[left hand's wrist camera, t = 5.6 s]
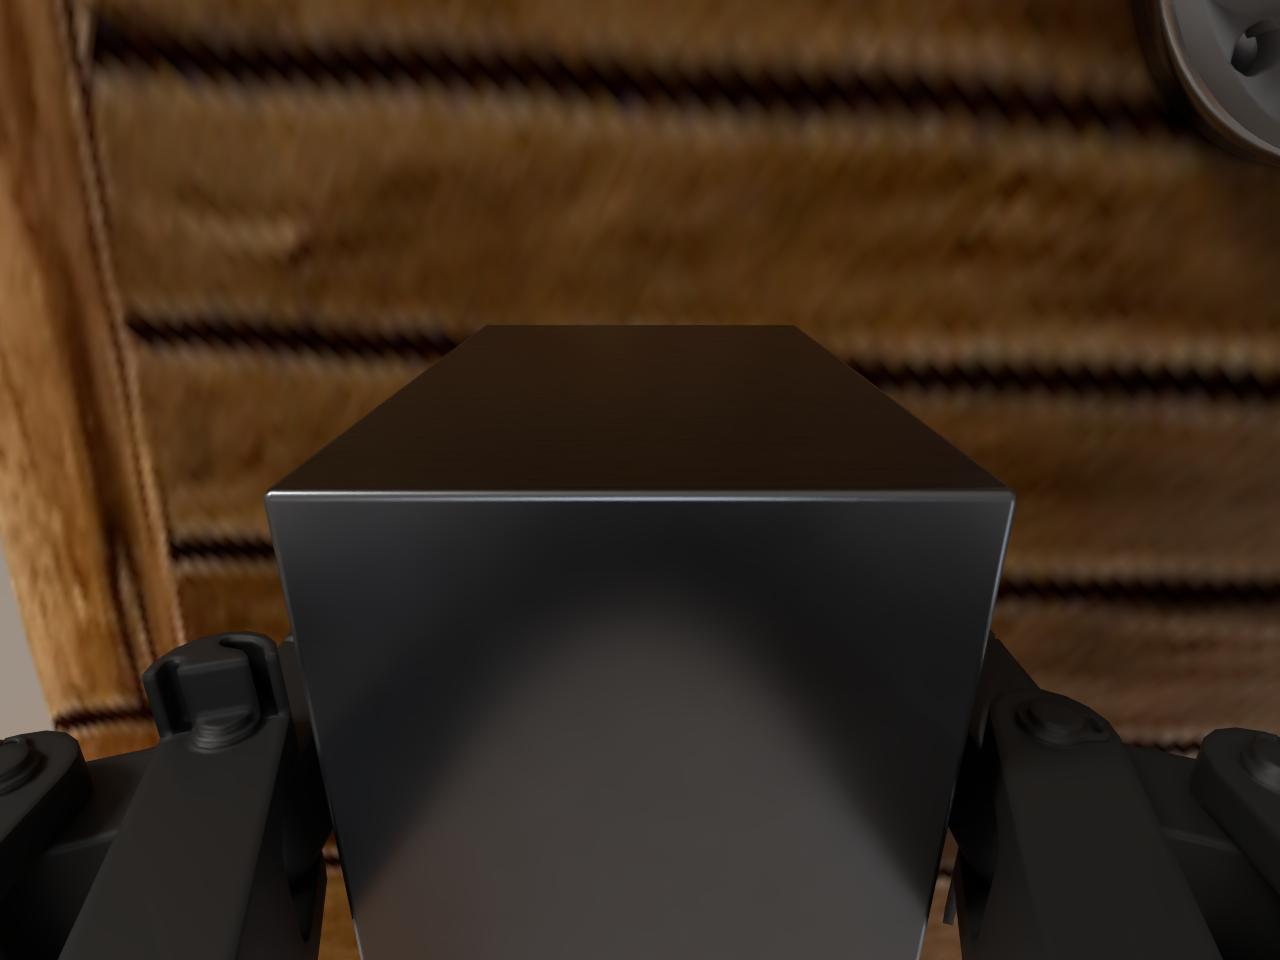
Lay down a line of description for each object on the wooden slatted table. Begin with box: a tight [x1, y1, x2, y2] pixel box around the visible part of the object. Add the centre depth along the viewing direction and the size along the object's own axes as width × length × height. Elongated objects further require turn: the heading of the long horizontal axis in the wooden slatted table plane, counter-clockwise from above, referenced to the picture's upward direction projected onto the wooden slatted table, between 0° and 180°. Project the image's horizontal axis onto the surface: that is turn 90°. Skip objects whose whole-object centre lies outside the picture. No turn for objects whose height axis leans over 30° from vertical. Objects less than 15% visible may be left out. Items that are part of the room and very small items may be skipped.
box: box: [264, 325, 1017, 960], centre depth 13 cm, size 22×6×8 cm, turn 0°
